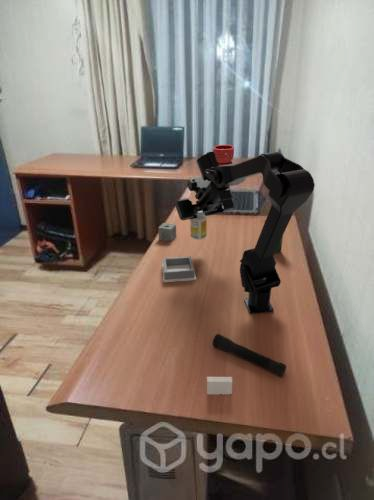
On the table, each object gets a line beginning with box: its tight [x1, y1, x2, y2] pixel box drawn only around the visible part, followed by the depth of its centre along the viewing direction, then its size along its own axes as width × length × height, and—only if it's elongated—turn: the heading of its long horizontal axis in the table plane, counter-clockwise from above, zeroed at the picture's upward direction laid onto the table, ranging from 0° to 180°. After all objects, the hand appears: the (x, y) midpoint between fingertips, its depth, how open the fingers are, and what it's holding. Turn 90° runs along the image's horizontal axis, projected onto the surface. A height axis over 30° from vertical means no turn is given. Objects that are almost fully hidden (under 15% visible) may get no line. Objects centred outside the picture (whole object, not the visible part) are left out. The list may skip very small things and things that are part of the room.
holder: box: [161, 255, 197, 283], centre depth 110 cm, size 10×10×3 cm
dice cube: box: [157, 222, 177, 242], centre depth 132 cm, size 5×5×5 cm
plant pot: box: [212, 144, 235, 166], centre depth 227 cm, size 13×13×12 cm
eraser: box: [206, 376, 233, 396], centre depth 69 cm, size 1×5×4 cm, turn 88°
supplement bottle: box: [190, 211, 208, 241], centre depth 116 cm, size 5×5×10 cm
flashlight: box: [212, 333, 287, 378], centre depth 77 cm, size 3×16×3 cm, turn 54°
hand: (196, 216), depth 116 cm, fingers closed on supplement bottle, 5 cm apart
